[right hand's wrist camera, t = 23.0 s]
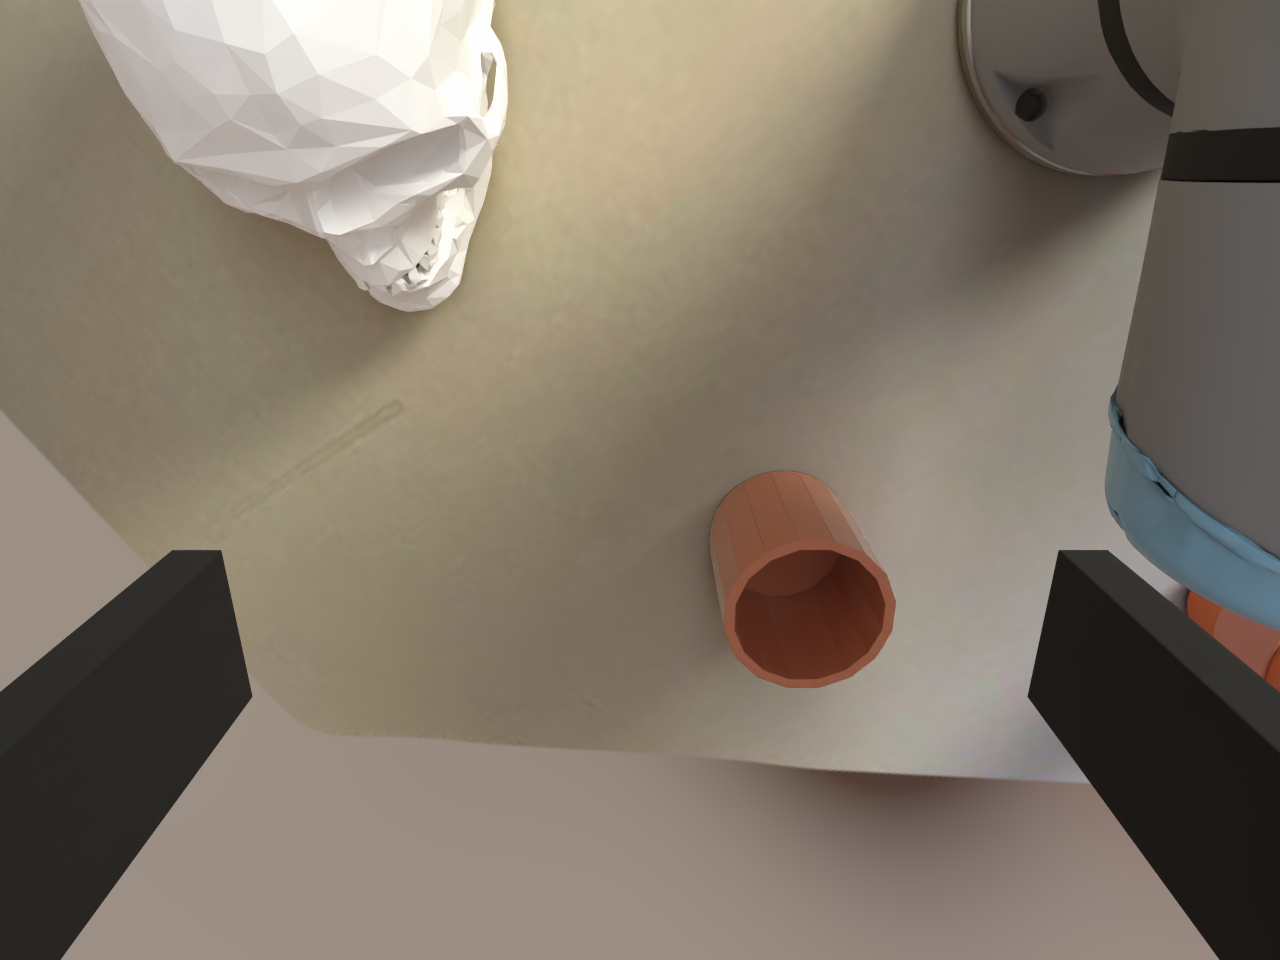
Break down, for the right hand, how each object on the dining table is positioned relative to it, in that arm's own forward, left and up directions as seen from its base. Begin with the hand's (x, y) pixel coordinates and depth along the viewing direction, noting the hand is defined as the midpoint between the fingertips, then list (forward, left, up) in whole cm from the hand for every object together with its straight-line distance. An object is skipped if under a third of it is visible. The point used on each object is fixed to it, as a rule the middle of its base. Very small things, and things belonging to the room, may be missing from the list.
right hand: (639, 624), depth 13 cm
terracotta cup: (+13, +8, -31) cm, 34 cm away
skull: (-11, -12, -31) cm, 35 cm away
